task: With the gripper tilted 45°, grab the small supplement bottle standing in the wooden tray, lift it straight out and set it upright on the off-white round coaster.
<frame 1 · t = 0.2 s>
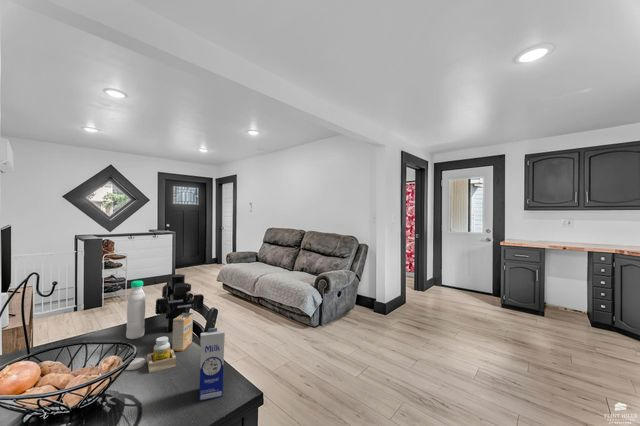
hand: (183, 310, 117), 17 cm above the table, tool horizontal, fingers open, 9 cm apart
milk carton: (210, 392, 90), on the table
coaster: (133, 365, 105), on the table
wooden tray: (161, 364, 106), on the table
supplement bottle: (161, 364, 106), resting in wooden tray
supplement box: (182, 347, 121), on the table
water bottle: (135, 336, 129), on the table
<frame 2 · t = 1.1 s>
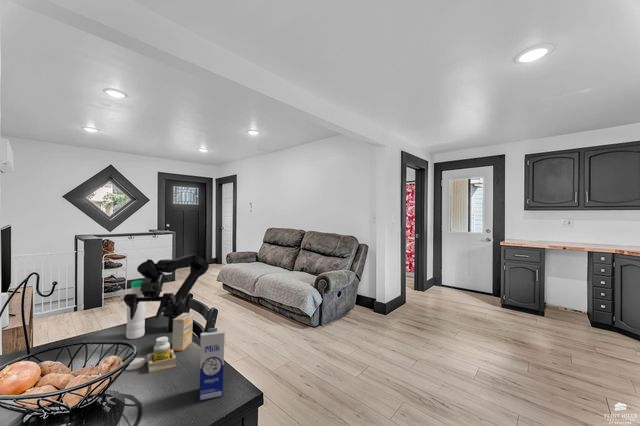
hand: (143, 318, 114), 14 cm above the table, tool tilted 45°, fingers open, 9 cm apart
nothing on the table moved.
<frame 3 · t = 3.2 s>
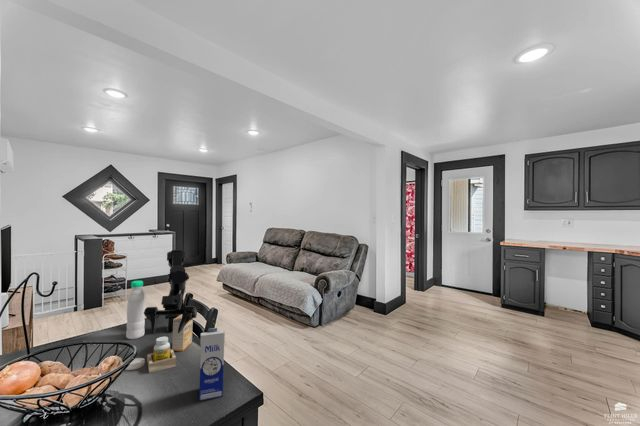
hand: (165, 333, 109), 10 cm above the table, tool tilted 45°, fingers open, 9 cm apart
nothing on the table moved.
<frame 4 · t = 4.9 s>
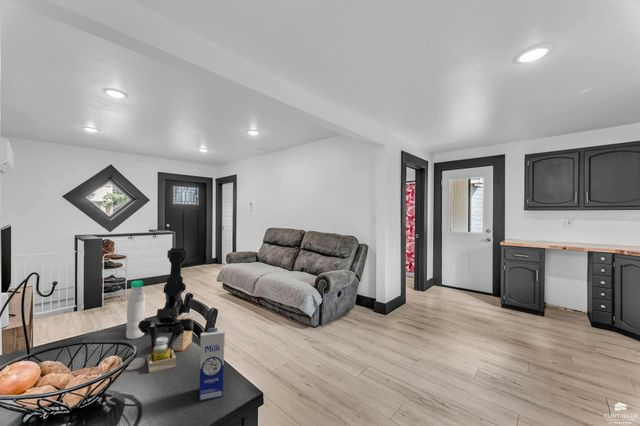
hand: (160, 348, 105), 7 cm above the table, tool tilted 45°, fingers closed on supplement bottle, 5 cm apart
supplement bottle: (161, 364, 106), resting in wooden tray, touching gripper
everything else where it was.
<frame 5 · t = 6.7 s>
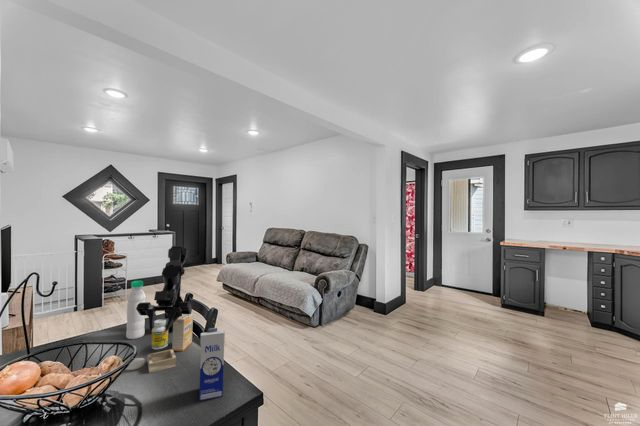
hand: (158, 330, 105), 13 cm above the table, tool tilted 45°, fingers closed on supplement bottle, 5 cm apart
supplement bottle: (159, 346, 106), point 6 cm above the table, touching gripper
everything else where it was.
when the fingers open (9 cm above the table, at t = 8.9 s): supplement bottle drops 1 cm, resting on coaster.
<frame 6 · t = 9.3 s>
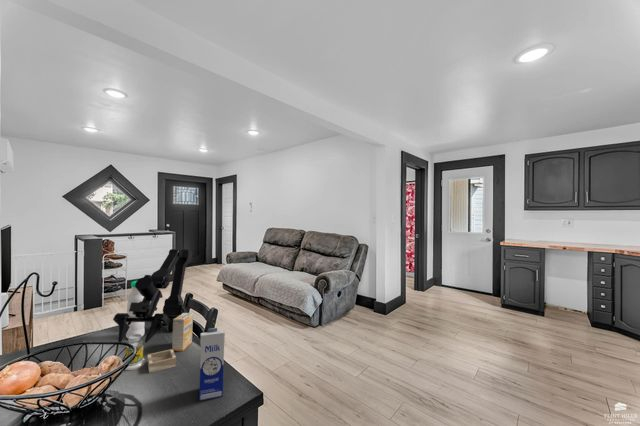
hand: (132, 342, 104), 9 cm above the table, tool tilted 45°, fingers open, 9 cm apart
supplement bottle: (134, 362, 105), point 1 cm above the table, touching coaster
everything else where it was.
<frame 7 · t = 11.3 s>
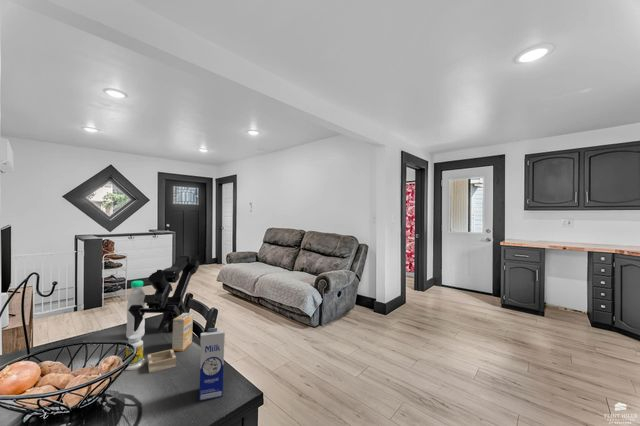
hand: (146, 331, 113), 9 cm above the table, tool tilted 45°, fingers open, 9 cm apart
nothing on the table moved.
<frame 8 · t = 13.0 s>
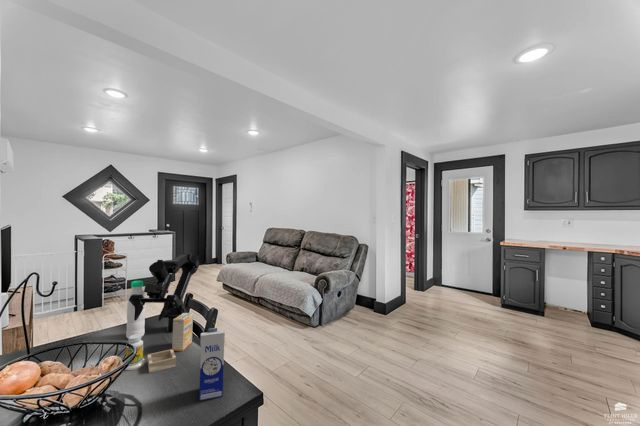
hand: (147, 320, 113), 14 cm above the table, tool tilted 45°, fingers open, 9 cm apart
nothing on the table moved.
at the end: supplement bottle 0.1 cm off-centre on the coaster, point 0.8 cm above the coaster's base; supplement bottle tilted 0°; the gripper is holding nothing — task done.
